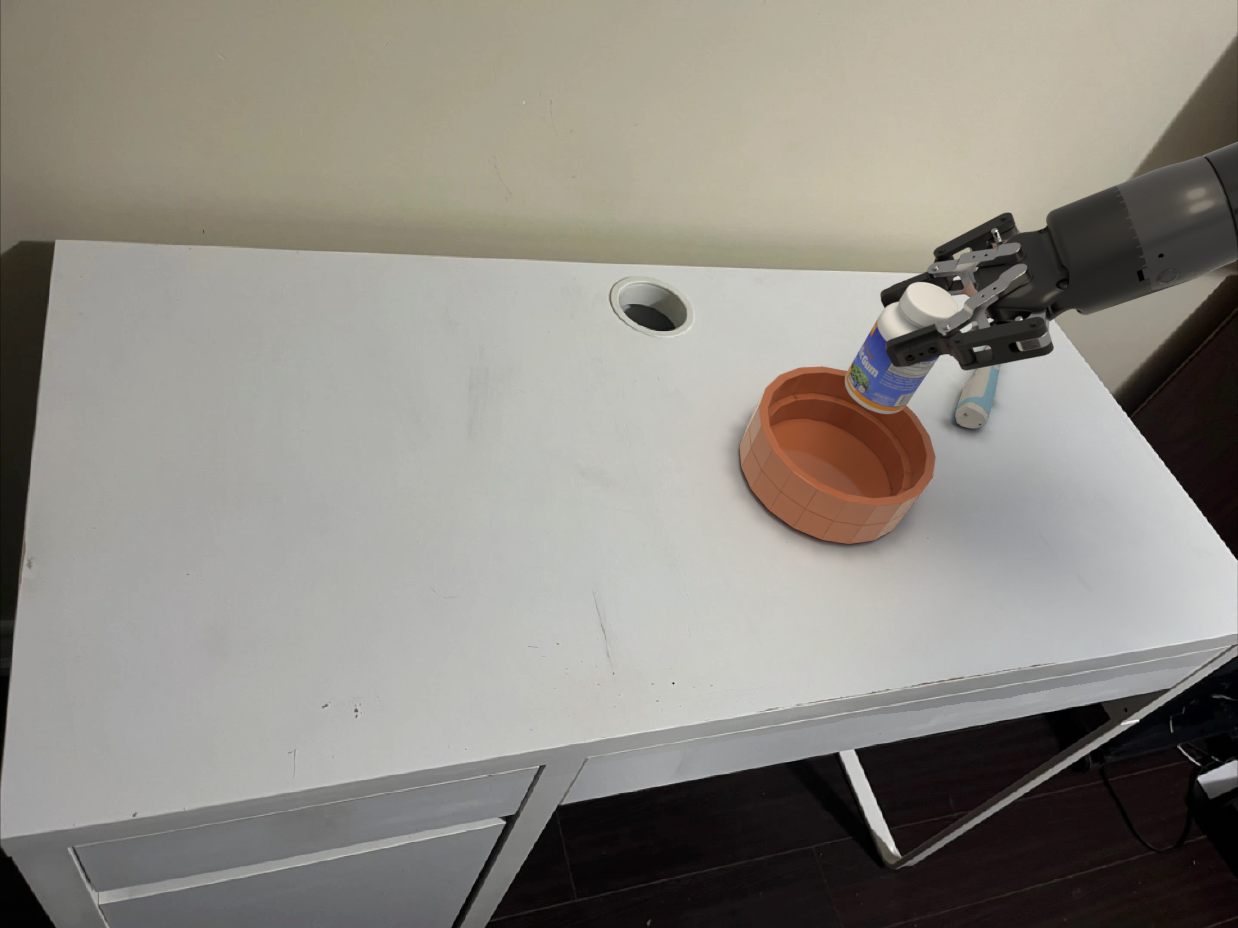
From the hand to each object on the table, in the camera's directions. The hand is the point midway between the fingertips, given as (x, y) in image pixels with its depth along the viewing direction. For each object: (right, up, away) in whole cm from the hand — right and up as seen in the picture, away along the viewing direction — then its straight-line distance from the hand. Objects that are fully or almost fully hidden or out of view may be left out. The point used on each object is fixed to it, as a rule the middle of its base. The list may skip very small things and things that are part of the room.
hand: (887, 329), depth 65 cm
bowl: (-2, -11, +13) cm, 17 cm away
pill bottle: (0, -4, +5) cm, 7 cm away
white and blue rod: (+18, -1, +27) cm, 33 cm away
